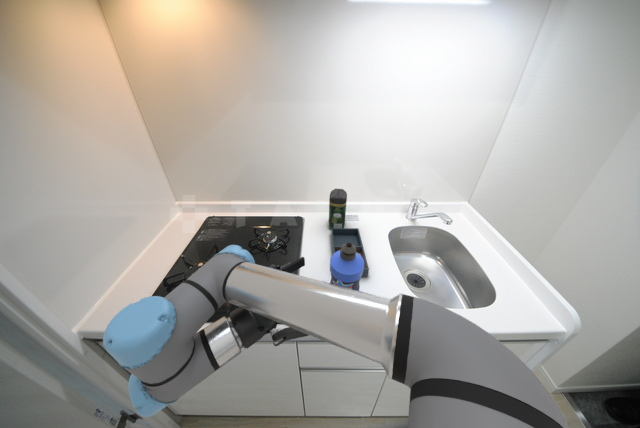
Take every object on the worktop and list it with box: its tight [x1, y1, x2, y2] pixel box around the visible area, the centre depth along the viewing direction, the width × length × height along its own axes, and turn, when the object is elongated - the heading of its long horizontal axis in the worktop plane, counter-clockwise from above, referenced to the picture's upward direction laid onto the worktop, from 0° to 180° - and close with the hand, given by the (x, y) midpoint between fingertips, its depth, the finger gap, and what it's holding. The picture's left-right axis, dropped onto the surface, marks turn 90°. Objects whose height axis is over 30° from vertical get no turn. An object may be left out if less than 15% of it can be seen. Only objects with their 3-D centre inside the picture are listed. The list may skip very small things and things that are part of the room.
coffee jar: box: [328, 188, 348, 230], centre depth 97 cm, size 10×8×19 cm
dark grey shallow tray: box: [330, 227, 370, 278], centre depth 85 cm, size 24×12×4 cm, turn 0°
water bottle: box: [329, 243, 364, 291], centre depth 61 cm, size 9×9×25 cm
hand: (319, 276), depth 52 cm, fingers open, 13 cm apart
